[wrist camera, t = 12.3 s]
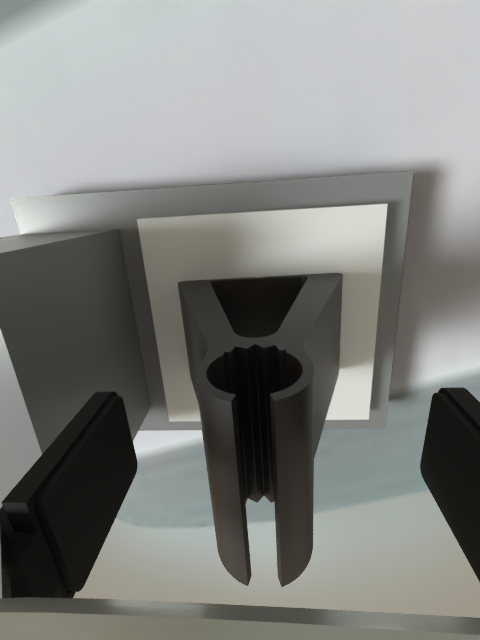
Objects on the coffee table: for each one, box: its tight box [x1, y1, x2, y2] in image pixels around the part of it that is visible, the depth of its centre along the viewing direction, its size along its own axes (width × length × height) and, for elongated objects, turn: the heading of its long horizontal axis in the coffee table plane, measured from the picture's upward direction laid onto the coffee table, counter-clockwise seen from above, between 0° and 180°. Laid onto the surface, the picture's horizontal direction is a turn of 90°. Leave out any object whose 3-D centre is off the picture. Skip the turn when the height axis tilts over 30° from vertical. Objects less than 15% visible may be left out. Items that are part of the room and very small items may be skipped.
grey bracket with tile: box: [0, 171, 413, 509], centre depth 17 cm, size 22×16×13 cm
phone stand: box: [178, 273, 343, 587], centre depth 14 cm, size 9×6×12 cm, turn 93°
